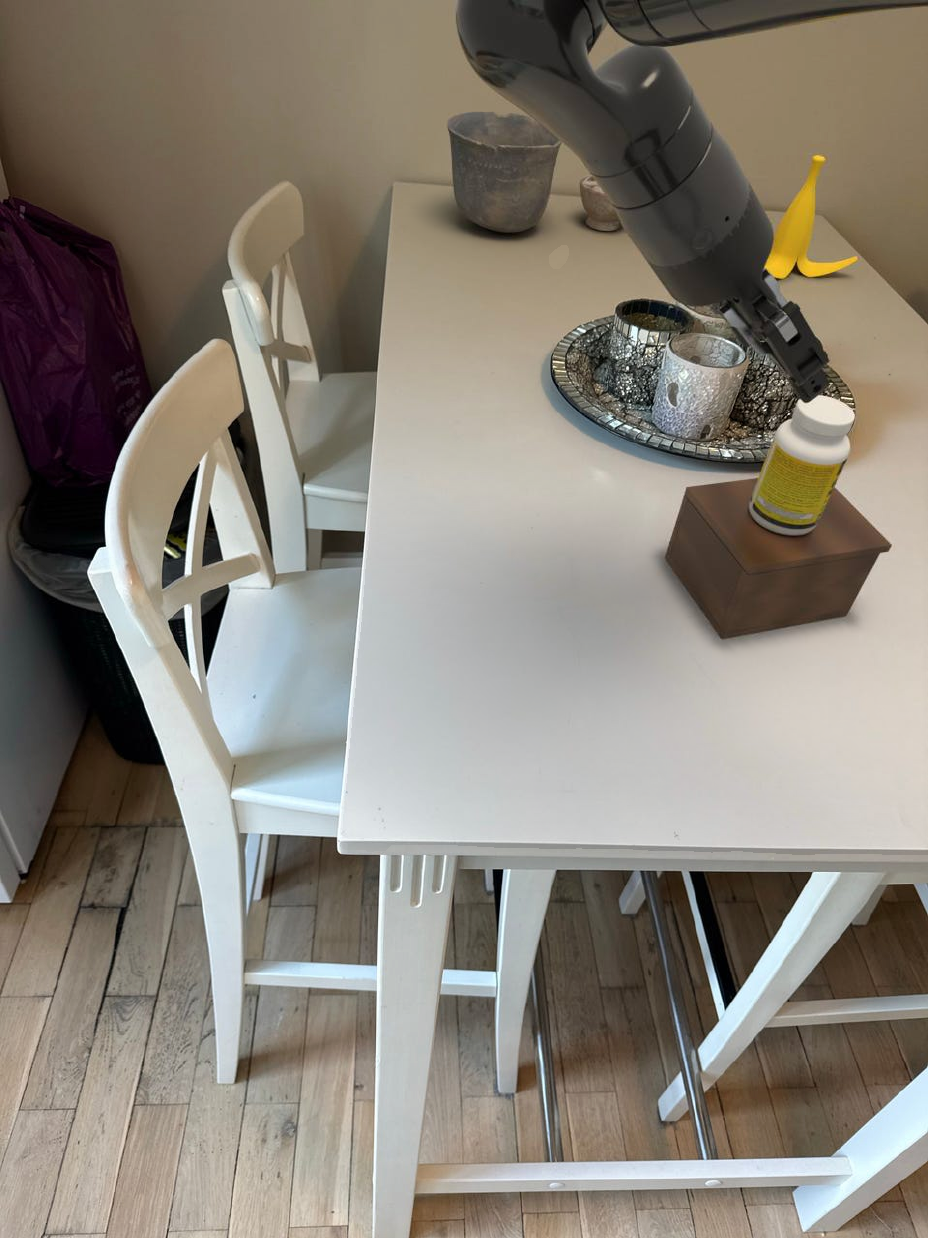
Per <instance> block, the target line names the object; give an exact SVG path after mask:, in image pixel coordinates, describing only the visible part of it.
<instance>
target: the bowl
mask: <svg viewBox="0 0 928 1238" xmlns="http://www.w3.org/2000/svg"><path fill="white" fill-rule="evenodd" d="M446 127H447V131H448V134H449V142H450V153H451V173H452V174H451V175H452V185H453V187H452V188H453V194H454V199H455V203H456V206H457V208H458V209H459V211H460V212H461V213H462V214H463V216H465V217H466V218H467V219H468V220H470V221H471V222H473V223H475V224H476V225H478V226H479V227H481V228H484V229H488V230H490V231H493V232H498V233H505V234H510V233H511V234H512V233H513V234H514V233H515V234H516V233H521V232H525V231H526V230H528V229H530V228H532V227H534V226H535V225H536V224H538V223H539V222H540V221H541V219H542V217H543V216H544V213H545V211H546V209H547V207H548V203H549V198H550V194H551V189H552V185H553V184H552V183H553V179H554V178H553V177H554V171H555V167H556V163H557V157H558V154H559V150H560V147H561V145H562V144H563V142H561V141H560V140H559V139H558V138H557V137H556V136H554V135H553V134H552V133H551V132H550V131H548V130H547V129H546V128H545V127H543V126H542V125H541V124H540V123H539V122H537V121H536V120H535V119H533V118H532V117H531V116H529V115H524V114H518V113H512V112H510V113H507V114H505V113H504V114H499V113H497V112H495V111H470V112H464V113H459V114H457V115H453V116H452V117H450V118H449V119H448V120H447V122H446Z"/></svg>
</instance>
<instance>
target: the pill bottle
mask: <svg viewBox="0 0 928 1238" xmlns="http://www.w3.org/2000/svg"><path fill="white" fill-rule="evenodd" d="M855 418H856V416H855V412H854V411H853V409H852V408H851V406H849V405H848V404H846V403H845V402H843V401H841V400H839V399H837V398H833V397H830V396H827V395H822V394H819V395H818V396H817V397H816V398H814V399H813V400H812V401H811V402H809V403H804V402H803V401H802V400H801V399H800V398H798V400H797V402H796V405H795V407H794V408H793V412H792V415H791V418H789V419H786V420H785V421H783V422H782V423H781V424H780V425H779V426H778V428H777V429H776V431H775V433H774V435H773V439H772V441H771V443H770V446H769V448H768V452H767V453H766V457H765V459H764V461H763V464H762V466H761V470H760V472H759V475H758V477H757V478H758V480H757V483H756V485H755V488H754V491H753V494H752V496H751V499H750V503H749V510H750V513H751V515H752V517H753V518H754V519H755V521H756V522H757V523H758V524H760V525H761V526H763V527H765V528H767V529H768V530H771V531H773V532H776V533H780V534H784V535H803V534H806V533H809V532H810V531H812V530H813V529H814V528H815V527H816V525H817V523H818V522H819V520H820V518H821V516H822V513H823V511H824V509H825V507H826V504H827V502H828V500H829V498H830V496H831V493H832V491H833V489H834V487H835V488H836V485H837V483H838V480H839V478H840V475H841V473H842V472H843V469H844V466H845V464H846V463H847V460H848V458H849V455H850V452H851V443H850V439H849V437H848V434H849V432H851V429H852V427H853V423H854V422H855Z"/></svg>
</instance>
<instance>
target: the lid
mask: <svg viewBox="0 0 928 1238" xmlns="http://www.w3.org/2000/svg"><path fill="white" fill-rule="evenodd" d="M757 480H758V477H753V478H747V479H739V480H732V481H723V482H714V483H707V484H699V485H692V486H686V487H685V491H684V495H686V496H687V498H688V499H689V500H690V501H691V503H692V504H693V505H694V506H695V508H696V509H697V510H698V512H699V513H700V514H701V515H702V517H703V518H704V519H705V520H706V522H707V523H708V524H709V526H710V527H711V528H712V529H713V531H714V532H715V533H716V534H717V536H718V537H719V538H720V539H721V541H722V542H723V543H724V545H725V546H726V547H727V548H728V550H729V551H730V552H731V553H732V555H733V556H734V557H735V559H736V560H737V561H738V562H739V564H740V565H741V566H742V567H743V569H744V570H745V571H746V572H747V574H754V573H760V572H767V571H773V570H779V569H785V568H791V567H797V566H804V565H810V564H816V563H822V562H828V561H834V560H841V559H847V558H853V557H859V556H865V555H872V554H878V553H880V554H883V553H889V552H890V550H891V548H892V546H893V544H891V542H890V541H889V540H888V539H887V538H886V537H885V536H884V535H883V534H882V533H881V532H880V531H879V530H878V529H877V528H876V527H875V526H874V525H873V524H872V523H871V522H870V521H869V520H868V518H866V517H865V516H864V515H863V514H862V513H861V511H859V510H858V509H857V508H856V507H855V506H854V505H853V504H852V503H851V502H850V501H849V500H848V499H847V498H846V496H844V495H843V493H841V491H839V490H838V489H837V488H836V486H835V487H834V489H833V491H832V493H831V496H830V498H829V500H828V502H827V504H826V507H825V509H824V511H823V513H822V516H821V518H820V520H819V522H818V523H817V525H816V527H815V528H814V529H813V530H812V531H810V532H809V533H806V534H803V535H784V534H780V533H776V532H773V531H771V530H768V529H767V528H765V527H763V526H761V525H760V524H758V523H757V522H756V521H755V519H754V518H753V517H752V515H751V513H750V510H749V503H750V499H751V496H752V494H753V491H754V488H755V485H756V483H757Z"/></svg>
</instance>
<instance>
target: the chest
mask: <svg viewBox="0 0 928 1238" xmlns="http://www.w3.org/2000/svg"><path fill="white" fill-rule="evenodd" d="M666 548H667V549H666V552H665V555H664V559H665V560H666V562H667V563H668V565H669V567H671V569H672V571H673V572H674V574H675V575H676V576H677V578H678V579H679V581H680V582H681V583H682V585H683V586H684V587H685V589H686V590H687V592H688V594H689V595H690V596H691V597H692V599H693V601H694V602H695V603H696V604H697V606H698V608H699V609H700V610H701V612H702V613H703V614H704V616H705V618H707V620H708V621H709V623H710V624H711V626H712V627H713V628H714V630H715V632H716V633H717V634H718V636H719V637H720V638H721V640H725V639H729V638H735V637H739V636H740V637H741V636H746V635H751V634H757V633H761V632H766V631H772V630H777V629H782V628H788V627H793V626H798V625H804V624H810V623H815V622H821V621H826V620H831V619H836V618H842V617H847V616H848V614H849V613H850V610H851V608H852V607H853V605H854V603H855V601H856V599H857V597H858V596H859V594H860V592H861V590H862V588H863V587H864V584H865V583H866V581H867V579H868V577H869V575H870V573H871V571H872V570H873V567H874V565H875V564H876V562H877V560H878V558H879V556H880V555H881V553H878V554H872V555H865V556H859V557H853V558H847V559H841V560H834V561H828V562H822V563H816V564H810V565H804V566H797V567H791V568H785V569H779V570H773V571H767V572H760V573H754V574H747V572H746V571H745V570H744V569H743V567H742V566H741V565H740V564H739V562H738V561H737V560H736V559H735V557H734V556H733V555H732V553H731V552H730V551H729V550H728V548H727V547H726V546H725V545H724V543H723V542H722V541H721V539H720V538H719V537H718V536H717V534H716V533H715V532H714V531H713V529H712V528H711V527H710V526H709V524H708V523H707V522H706V520H705V519H704V518H703V517H702V515H701V514H700V513H699V512H698V510H697V509H696V508H695V506H694V505H693V504H692V503H691V501H690V500H689V499H688V498H687V496H686V495H685V494H684V495H683V498H682V500H681V504H680V507H679V510H678V513H677V517H676V520H675V522H674V527H673V529H672V533H671V536H670V539H669V541H668V546H667V547H666Z"/></svg>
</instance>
